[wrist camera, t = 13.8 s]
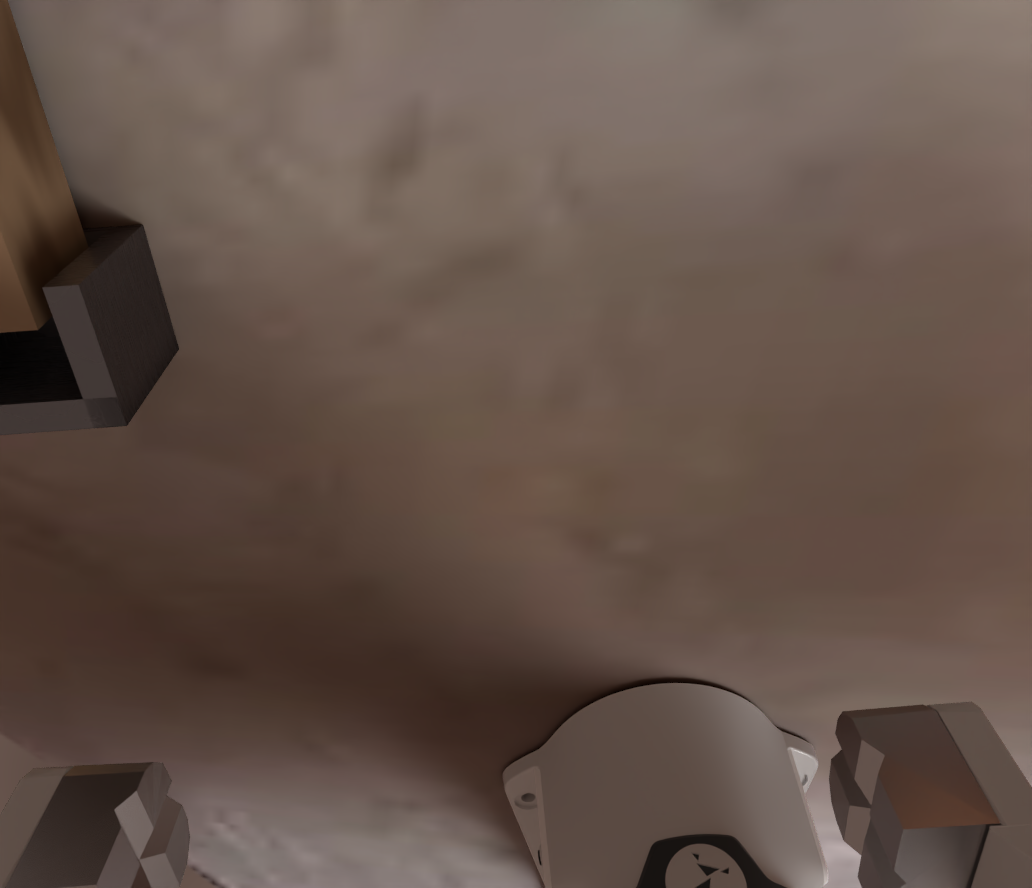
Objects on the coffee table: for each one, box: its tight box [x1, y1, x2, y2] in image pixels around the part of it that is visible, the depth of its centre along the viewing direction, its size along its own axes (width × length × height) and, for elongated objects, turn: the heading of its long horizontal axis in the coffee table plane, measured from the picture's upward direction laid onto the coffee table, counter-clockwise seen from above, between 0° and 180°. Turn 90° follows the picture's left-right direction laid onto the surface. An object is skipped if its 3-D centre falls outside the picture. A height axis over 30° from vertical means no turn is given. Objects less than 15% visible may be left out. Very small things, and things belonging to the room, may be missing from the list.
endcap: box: [0, 225, 179, 435], centre depth 33 cm, size 5×7×6 cm
